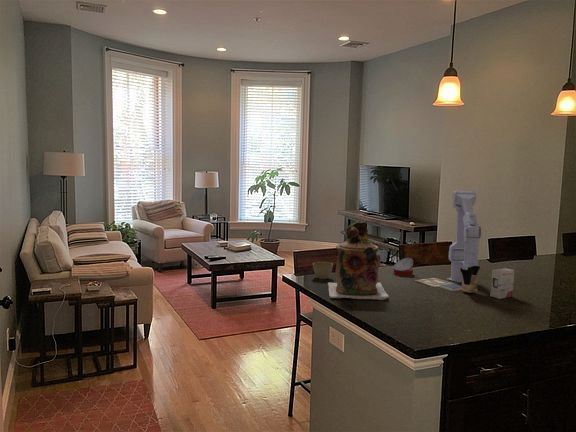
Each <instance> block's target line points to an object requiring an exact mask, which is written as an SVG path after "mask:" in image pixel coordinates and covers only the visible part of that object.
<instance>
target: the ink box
mask: <svg viewBox="0 0 576 432" xmlns="http://www.w3.org/2000/svg"><path fill="white" fill-rule="evenodd" d="M490 278H491V280H490V282H491V283H490V296H489V297H493V298H496V299H499V300H501V299H507V298H511V297H513V293H514V291H513V290H514V280H515V279H514V278H515V270H514V269H510V268H506V267H505V268H495V269H491V277H490Z"/></svg>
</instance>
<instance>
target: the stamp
mask: <svg viewBox="0 0 576 432" xmlns="http://www.w3.org/2000/svg"><path fill="white" fill-rule="evenodd" d="M461 286H462V288H461V291H462V292H464V293H465V292H466V293H469V294H472V293H478V291H479V290H478V276H477V275H476V276H475V275H472V277H471V282H470V285H465V284H464V280H463V275H462V282H461ZM461 291H460V292H461Z"/></svg>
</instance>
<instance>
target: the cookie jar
mask: <svg viewBox="0 0 576 432" xmlns="http://www.w3.org/2000/svg"><path fill="white" fill-rule="evenodd" d="M367 221H368V220H367V219H365V220H364V221H357V222H353V223H351V224H349V225H348V226H347V228H346V236H347V239H346V240H345V241H344V242H341V243H339V244H337V245H335V249H336V250H337V260H336V266H335V280H336V281H335V282H327V286H328V295H329V298H330V299H345V298H347V299H352V300H355V299H356V300H373V301H374V300H377V301H385V300H387V299H388V298H389V296H390V295H389V294H388V293H387V291H385V289H384V287H383V285H382V284H383V283H381V282H379V267H380V266H381V255H379V254H377V253H378V251H379V246H378V245H376V244H373V243H372V241H371V240H369V236H368V235H369V234H368V233H369V230H368V225H367Z"/></svg>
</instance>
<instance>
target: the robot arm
mask: <svg viewBox="0 0 576 432" xmlns="http://www.w3.org/2000/svg"><path fill="white" fill-rule="evenodd" d="M476 201H477V193H476V192H475V190H473V191H471V190H469V191H468V190H466V191H465V190H454V191H453V193H452V208H453V209H455V211H456V221H455V222H456V224H455V225H456V226H455V227H456V229H455V242H453V243H452V244H450V245H449V248H448V249H449V250H448V261H449V262H451V267H450V269H451V271H450V277H448V278H446V280H448V281H450V282H451V281H452V282H455V283H462V275H463V280H464V284H465V285H470V282H471V277H472V275H475V276H477V275H478V272H479V270H480V269H481V266H480V265H479V247H480V246H479V243H480V239H481V238H482V237H481V236H482V228H481V225H480V223H478V219H477V215H476V213H474V208H473V207H474V205H475V204H476Z"/></svg>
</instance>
